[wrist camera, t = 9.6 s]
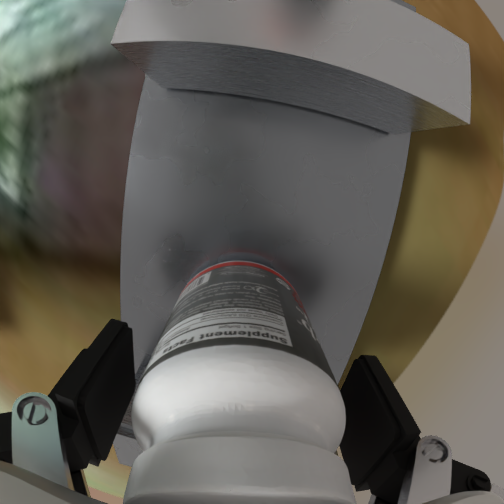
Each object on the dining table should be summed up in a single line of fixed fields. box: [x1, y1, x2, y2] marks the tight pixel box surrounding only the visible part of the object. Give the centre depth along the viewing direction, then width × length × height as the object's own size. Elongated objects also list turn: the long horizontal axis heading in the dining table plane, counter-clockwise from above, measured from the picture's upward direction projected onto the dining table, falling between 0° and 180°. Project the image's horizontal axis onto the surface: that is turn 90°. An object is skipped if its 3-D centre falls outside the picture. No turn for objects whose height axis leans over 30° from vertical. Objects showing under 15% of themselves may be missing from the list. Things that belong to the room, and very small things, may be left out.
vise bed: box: [113, 0, 416, 467], centre depth 10 cm, size 26×12×6 cm, turn 170°
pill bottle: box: [123, 261, 356, 504], centre depth 8 cm, size 6×6×10 cm
